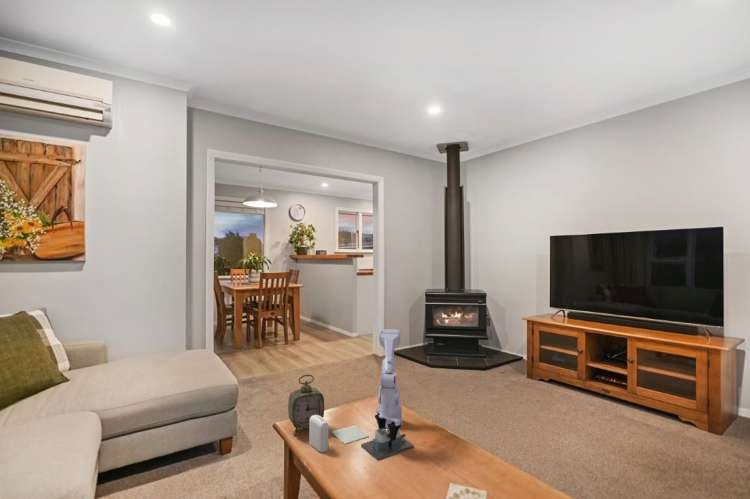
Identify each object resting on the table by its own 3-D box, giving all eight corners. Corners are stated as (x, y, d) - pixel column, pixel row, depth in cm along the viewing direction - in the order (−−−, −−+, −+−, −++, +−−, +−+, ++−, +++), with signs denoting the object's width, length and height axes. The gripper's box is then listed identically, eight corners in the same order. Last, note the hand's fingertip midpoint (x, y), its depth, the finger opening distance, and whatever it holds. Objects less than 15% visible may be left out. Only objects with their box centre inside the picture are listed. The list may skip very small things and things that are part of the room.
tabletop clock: (291, 438, 161) (292, 380, 161) (286, 429, 169) (287, 373, 169) (324, 431, 168) (324, 375, 168) (317, 422, 176) (318, 369, 176)
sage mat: (354, 425, 173) (354, 425, 173) (368, 436, 163) (368, 436, 163) (331, 432, 167) (331, 431, 167) (344, 444, 157) (344, 443, 157)
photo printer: (307, 443, 157) (308, 413, 157) (316, 440, 160) (317, 411, 160) (320, 454, 149) (320, 422, 149) (329, 450, 152) (330, 419, 152)
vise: (396, 435, 165) (396, 418, 165) (413, 447, 155) (413, 429, 155) (361, 446, 155) (361, 428, 155) (377, 460, 145) (377, 440, 145)
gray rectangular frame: (392, 432, 160) (392, 424, 160) (399, 437, 156) (400, 429, 156) (375, 437, 155) (375, 430, 155) (381, 442, 151) (382, 435, 151)
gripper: (370, 399, 159) (369, 431, 159) (390, 411, 147) (389, 446, 147) (384, 395, 163) (383, 427, 163) (404, 407, 151) (404, 441, 151)
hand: (387, 436), depth 155 cm, fingers open, 7 cm apart
